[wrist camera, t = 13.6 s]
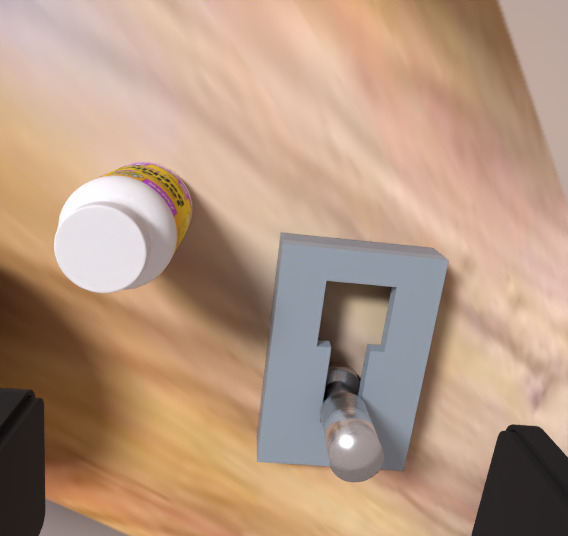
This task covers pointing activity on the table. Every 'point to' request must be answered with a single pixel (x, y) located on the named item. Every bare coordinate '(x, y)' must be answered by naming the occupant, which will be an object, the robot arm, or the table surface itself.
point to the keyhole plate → (316, 353)
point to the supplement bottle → (122, 227)
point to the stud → (348, 427)
